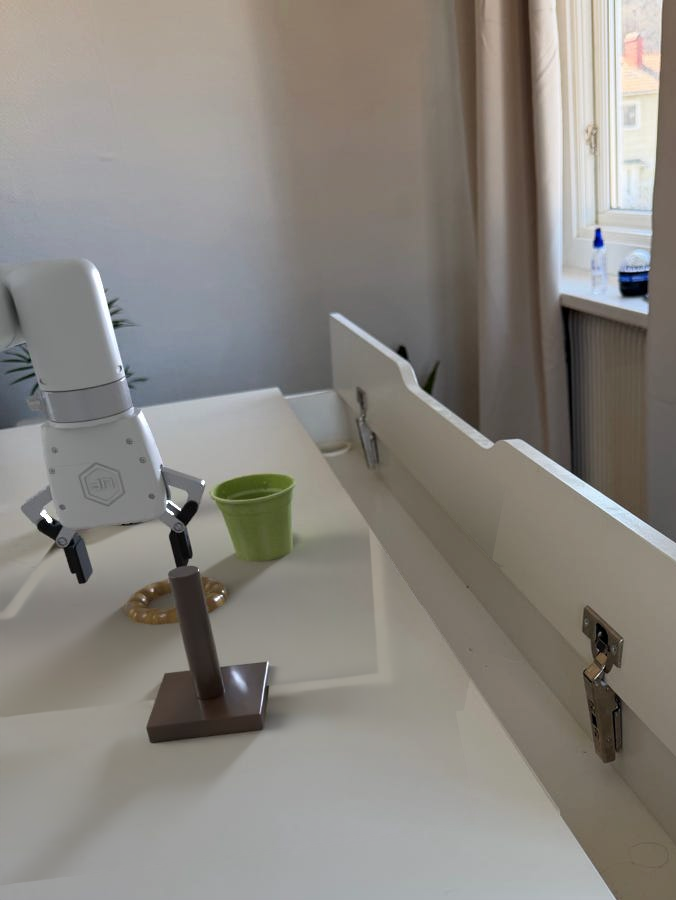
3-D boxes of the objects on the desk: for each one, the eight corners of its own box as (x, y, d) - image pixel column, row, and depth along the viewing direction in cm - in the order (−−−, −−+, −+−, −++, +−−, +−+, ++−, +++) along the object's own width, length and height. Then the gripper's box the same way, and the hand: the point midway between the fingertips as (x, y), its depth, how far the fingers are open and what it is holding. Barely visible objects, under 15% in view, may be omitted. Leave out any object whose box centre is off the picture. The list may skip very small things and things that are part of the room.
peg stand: (149, 743, 78) (112, 601, 72) (167, 687, 86) (135, 556, 80) (263, 729, 79) (235, 588, 73) (271, 675, 86) (246, 544, 81)
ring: (119, 637, 95) (114, 619, 95) (138, 596, 104) (134, 579, 103) (222, 626, 96) (218, 608, 95) (233, 585, 105) (229, 568, 104)
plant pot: (240, 582, 106) (225, 506, 102) (213, 557, 113) (198, 485, 109) (320, 560, 110) (308, 486, 106) (288, 537, 117) (276, 467, 113)
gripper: (-21, 423, 86) (36, 599, 94) (177, 400, 87) (217, 575, 95) (5, 403, 93) (57, 569, 101) (188, 382, 94) (226, 547, 102)
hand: (135, 572), depth 98 cm, fingers open, 9 cm apart
